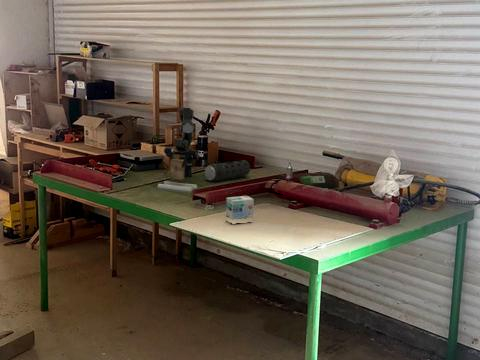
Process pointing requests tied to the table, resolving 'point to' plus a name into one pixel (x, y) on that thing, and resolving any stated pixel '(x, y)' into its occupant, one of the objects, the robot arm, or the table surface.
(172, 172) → the wooden block
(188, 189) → the track board
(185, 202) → the table surface
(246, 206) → the light bulb box
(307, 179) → the green bottle
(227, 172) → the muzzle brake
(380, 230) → the table surface
